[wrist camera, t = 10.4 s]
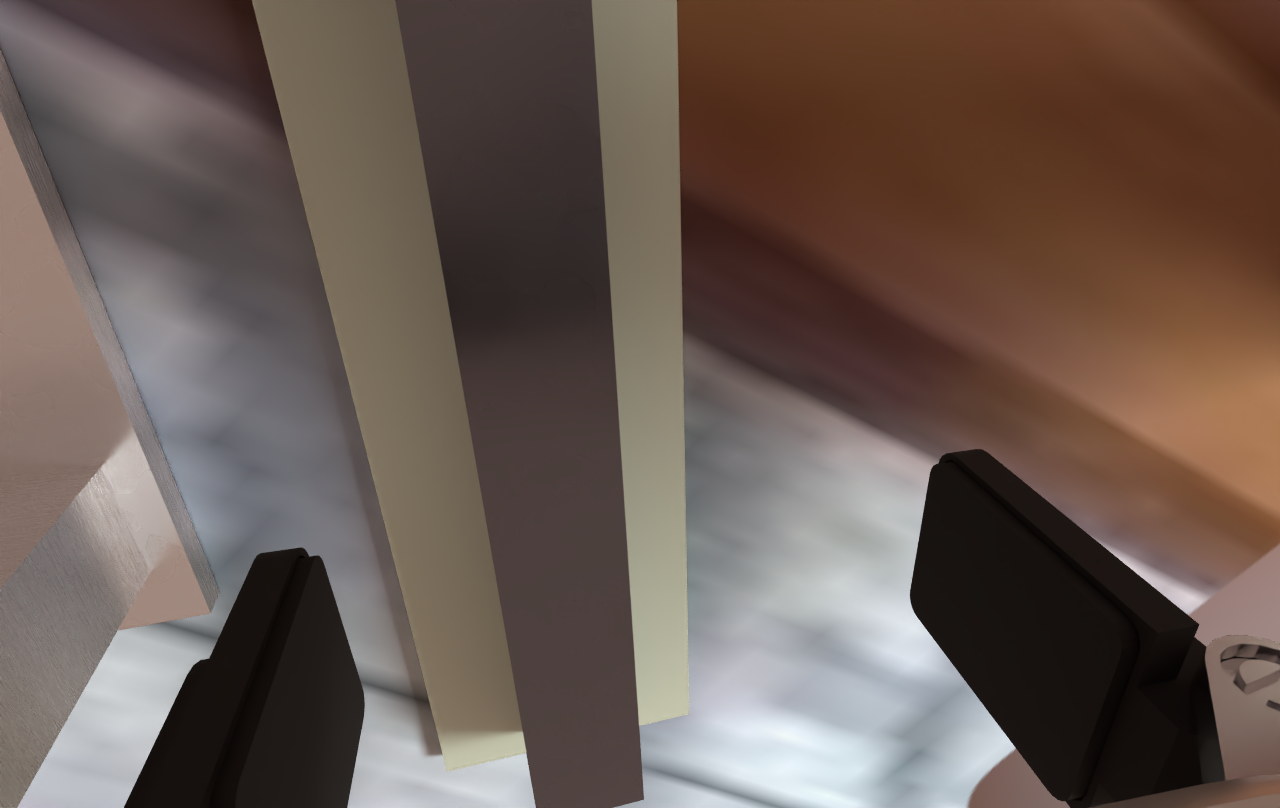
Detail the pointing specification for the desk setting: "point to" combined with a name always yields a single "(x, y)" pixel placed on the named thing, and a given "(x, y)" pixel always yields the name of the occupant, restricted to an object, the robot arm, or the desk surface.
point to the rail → (537, 364)
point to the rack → (70, 472)
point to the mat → (426, 353)
